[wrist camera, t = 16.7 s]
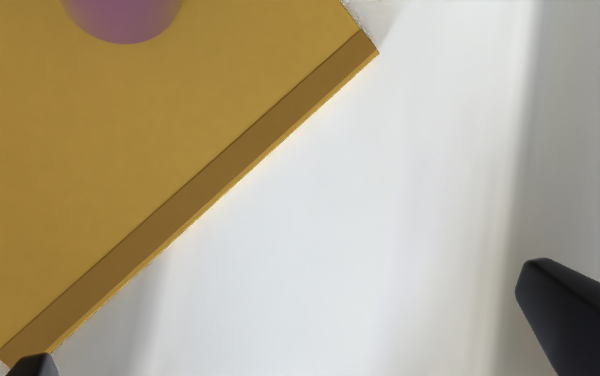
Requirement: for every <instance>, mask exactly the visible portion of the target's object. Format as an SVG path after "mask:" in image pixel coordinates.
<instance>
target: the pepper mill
mask: <svg viewBox="0 0 600 376" xmlns="http://www.w3.org/2000/svg"><path fill="white" fill-rule="evenodd" d="M58 1H59V3H60V4H61V6H62V8H63V9H64V11H65V13H66V14H67V15H68V16H69V18H70V19H71V20H72V21H73V22H74V23H75V24H76V25H77V26H78V27H80V28H81V29H82V30H84V31H85V32H87V33H88V34H90V35H92V36H94V37H96V38H98V39H100V40H104V41H107V42H111V43H116V44H135V43H140V42H144V41H147V40H150V39H152V38H154V37H156V36H157V35H159V34H160V33H162V32H163V31H164V30H165V29H167V28H168V27H169V25H170V24H171V23H172V22H173V20H174V19H175V17H176V16H177V13H178V11H179V9H180V6H181V2H182V0H58Z"/></svg>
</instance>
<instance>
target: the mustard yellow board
mask: <svg viewBox="0 0 600 376" xmlns="http://www.w3.org/2000/svg"><path fill="white" fill-rule="evenodd" d="M378 54H379V52H378V50H377V49H376V47H375V46H374V45H373V43H372V42H371V41H370V39H369V38H368V37H367V36H366V34H365V33H364V32H363V30H362V29H361V28H360V27H359V26H358V25H357V23H356V22H355V21H354V19H353V18H352V17H351V15H350V14H349V13H348V12H347V10H346V9H345V8H344V6H343V5H342V4H341V2H340V1H339V0H182V2H181V6H180V9H179V11H178V13H177V16H176V17H175V19H174V20H173V22H172V23H171V24H170V25H169V27H168V28H167V29H165V30H164V31H163V32H162V33H160V34H159V35H157V36H156V37H154V38H152V39H150V40H147V41H144V42H140V43H135V44H116V43H111V42H107V41H104V40H100V39H98V38H96V37H94V36H92V35H90V34H88V33H87V32H85V31H84V30H82V29H81V28H80V27H78V26H77V25H76V24H75V23H74V22H73V21H72V20H71V19H70V18H69V16H68V15H67V14H66V13H65V11H64V9H63V8H62V6H61V4H60V3H59V1H58V0H0V361H2V362H3V363H4V364H5V365H6V366H7V367H9V368H10V369H11V368H12V367H13V366H14V365H15V363H16V362H17V361H18V360H19V359H20V358H22V357H24V356H27V355H33V354H38V353H43V352H45V353H46V352H47V353H49V354H50V353H51V352H52V351H53V350H54V349H55V348H57V347H58V346H59V345H60V344H61V343H62V342H63V341H64V340H65V339H66V338H68V337H69V336H70V335H71V334H72V333H73V332H74V331H75V330H76V329H77V328H79V327H80V326H81V325H82V324H83V323H84V322H85V321H86V320H87V319H88V318H89V317H91V316H92V315H93V314H94V313H95V312H96V311H97V310H98V309H99V308H100V307H102V306H103V305H104V304H105V303H106V302H107V301H108V300H109V299H110V298H111V297H113V296H114V295H115V294H116V293H117V292H118V291H119V290H120V289H121V288H122V287H124V286H125V285H126V284H127V283H128V282H129V281H130V280H131V279H132V278H133V277H134V276H136V275H137V274H138V273H139V272H140V271H141V270H142V269H143V268H144V267H145V266H147V265H148V264H149V263H150V262H151V261H152V260H153V259H154V258H155V257H156V256H158V255H159V254H160V253H161V252H162V251H163V250H164V249H165V248H166V247H167V246H169V245H170V244H171V243H172V242H173V241H174V240H175V239H176V238H177V237H178V236H179V235H181V234H182V233H183V232H184V231H185V230H186V229H187V228H188V227H189V226H190V225H192V224H193V223H194V222H195V221H196V220H197V219H198V218H199V217H200V216H201V215H203V214H204V213H205V212H206V211H207V210H208V209H209V208H210V207H211V206H212V205H214V204H215V203H216V202H217V201H218V200H219V199H220V198H221V197H222V196H223V195H224V194H226V193H227V192H228V191H229V190H230V189H231V188H232V187H233V186H234V185H235V184H237V183H238V182H239V181H240V180H241V179H242V178H243V177H244V176H245V175H246V174H248V173H249V172H250V171H251V170H252V169H253V168H254V167H255V166H256V165H257V164H259V163H260V162H261V161H262V160H263V159H264V158H265V157H266V156H267V155H268V154H269V153H271V152H272V151H273V150H274V149H275V148H276V147H277V146H278V145H279V144H280V143H282V142H283V141H284V140H285V139H286V138H287V137H288V136H289V135H290V134H291V133H293V132H294V131H295V130H296V129H297V128H298V127H299V126H300V125H301V124H302V123H304V122H305V121H306V120H307V119H308V118H309V117H310V116H311V115H312V114H313V113H314V112H316V111H317V110H318V109H319V108H320V107H321V106H322V105H323V104H324V103H325V102H327V101H328V100H329V99H330V98H331V97H332V96H333V95H334V94H335V93H336V92H338V91H339V90H340V89H341V88H342V87H343V86H344V85H345V84H346V83H347V82H349V81H350V80H351V79H352V78H353V77H354V76H355V75H356V74H357V73H358V72H359V71H361V70H362V69H363V68H364V67H365V66H366V65H367V64H368V63H369V62H370V61H372V60H373V59H374V58H375V57H376V56H377V55H378Z"/></svg>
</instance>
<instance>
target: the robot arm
mask: <svg viewBox="0 0 600 376" xmlns="http://www.w3.org/2000/svg"><path fill="white" fill-rule="evenodd" d="M515 296H516V300H517V302H518V304H519V306H520V308H521V310H522V311H523V313H524V315H525V317H526V319H527V321H528V323H529V324H530V326H531V328H532V330H533V332H534V334H535V336H536V338H537V339H538V341H539V343H540V345H541V347H542V349H543V351H544V353H545V354H546V356H547V358H548V360H549V361H550V363H551V365H552V367H553V368H554V370H555V372H556V373H557V375H558V376H600V282H597V281H595V280H593V279H591V278H589V277H587V276H585V275H583V274H581V273H578V272H576V271H574V270H572V269H570V268H568V267H566V266H564V265H561V264H559V263H557V262H555V261H553V260H551V259H548V258H537V259H531V260H528V261H526V262H525V263H524V264H523V267H522V270H521V273H520V275H519V278H518V281H517V284H516V287H515ZM6 376H60V375H59V373H58V371H57V368H56V366H55V363H54V361H53V359H52V357H51V355H50V354H49V353H47V352H46V353H45V352H43V353H38V354H33V355H27V356H24V357H22V358H20V359H19V360H18V361H17V362H16V363H15V365H14V366H13V367H12V368H11V370H10V371H9V372H8V373H7V375H6Z"/></svg>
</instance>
